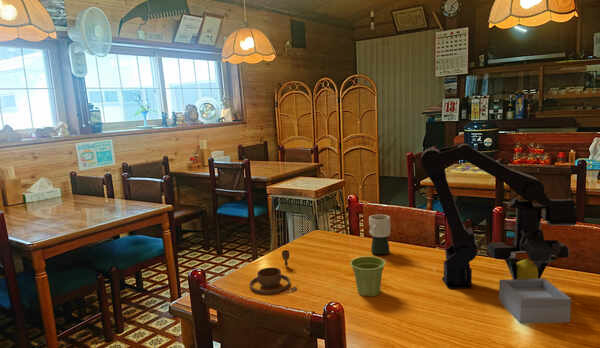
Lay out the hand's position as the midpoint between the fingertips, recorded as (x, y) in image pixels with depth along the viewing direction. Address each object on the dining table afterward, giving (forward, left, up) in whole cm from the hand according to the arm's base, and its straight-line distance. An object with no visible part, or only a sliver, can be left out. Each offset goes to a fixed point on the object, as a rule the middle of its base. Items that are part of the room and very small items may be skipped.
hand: (525, 280), depth 109 cm
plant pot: (-42, 0, -3) cm, 42 cm away
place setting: (-68, +9, -3) cm, 68 cm away
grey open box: (-4, -12, -3) cm, 13 cm away
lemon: (0, 0, -2) cm, 2 cm away
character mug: (-35, +30, -3) cm, 46 cm away
